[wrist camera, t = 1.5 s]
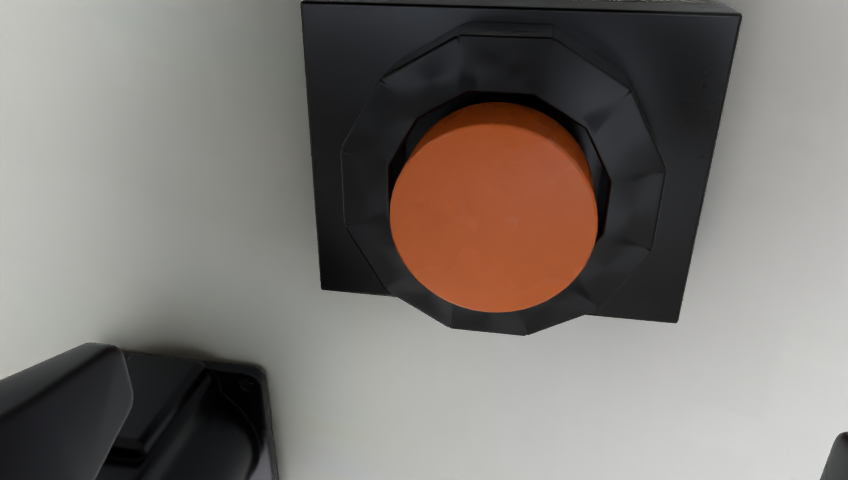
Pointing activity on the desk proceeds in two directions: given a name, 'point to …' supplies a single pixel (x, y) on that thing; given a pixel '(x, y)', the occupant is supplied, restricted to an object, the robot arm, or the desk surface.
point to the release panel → (536, 88)
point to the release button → (495, 208)
